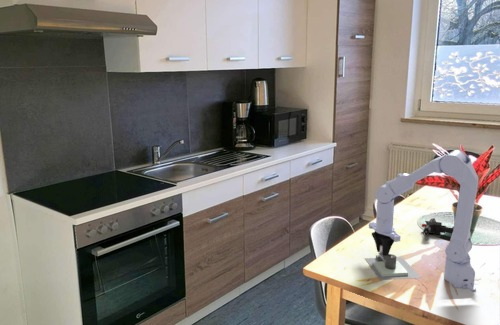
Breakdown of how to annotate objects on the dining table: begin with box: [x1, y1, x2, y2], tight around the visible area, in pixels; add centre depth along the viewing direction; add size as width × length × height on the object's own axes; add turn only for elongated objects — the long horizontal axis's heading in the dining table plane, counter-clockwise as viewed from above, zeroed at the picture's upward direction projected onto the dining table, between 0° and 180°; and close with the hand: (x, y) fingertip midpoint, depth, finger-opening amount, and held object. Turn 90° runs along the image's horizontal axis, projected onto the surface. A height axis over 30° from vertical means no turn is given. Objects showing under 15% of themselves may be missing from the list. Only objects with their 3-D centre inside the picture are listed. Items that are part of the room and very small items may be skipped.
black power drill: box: [421, 217, 454, 237], centre depth 185 cm, size 5×20×15 cm
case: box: [364, 254, 422, 281], centre depth 154 cm, size 16×14×2 cm
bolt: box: [378, 244, 386, 262], centre depth 158 cm, size 6×2×4 cm, turn 4°
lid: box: [373, 253, 408, 277], centre depth 152 cm, size 9×9×5 cm
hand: (382, 253), depth 159 cm, fingers closed
